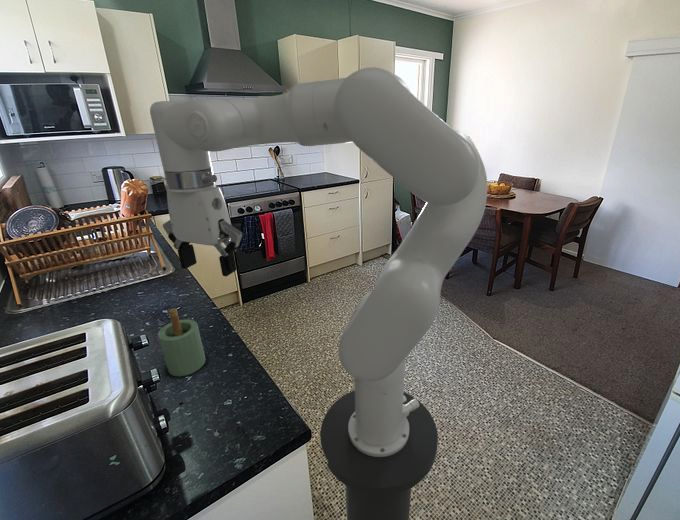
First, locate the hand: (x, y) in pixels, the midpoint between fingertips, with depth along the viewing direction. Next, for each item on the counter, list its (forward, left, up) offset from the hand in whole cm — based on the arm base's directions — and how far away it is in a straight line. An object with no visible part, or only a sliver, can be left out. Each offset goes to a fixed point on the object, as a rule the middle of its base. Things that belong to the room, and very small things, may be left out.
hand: (209, 269), depth 66 cm
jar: (+7, -20, -33) cm, 39 cm away
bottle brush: (+7, -20, -33) cm, 39 cm away
